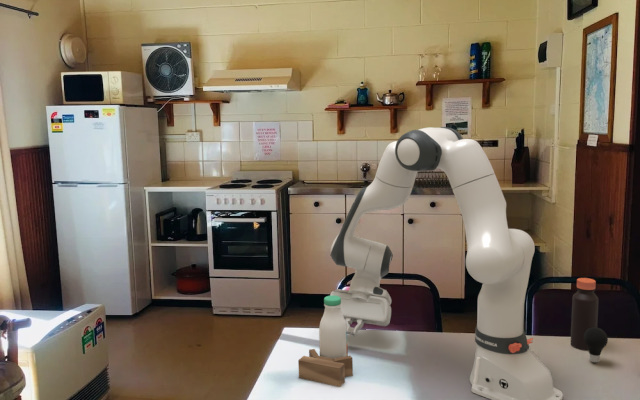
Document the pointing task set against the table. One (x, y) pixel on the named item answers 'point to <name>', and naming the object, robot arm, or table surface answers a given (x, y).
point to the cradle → (325, 368)
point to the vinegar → (583, 311)
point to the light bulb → (595, 342)
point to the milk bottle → (333, 330)
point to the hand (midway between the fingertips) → (351, 334)
